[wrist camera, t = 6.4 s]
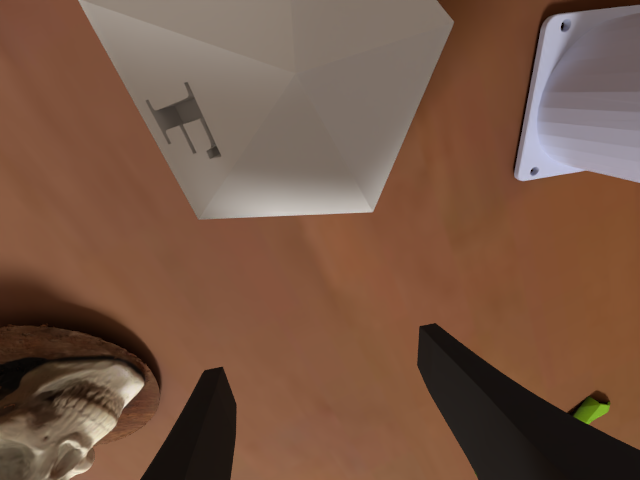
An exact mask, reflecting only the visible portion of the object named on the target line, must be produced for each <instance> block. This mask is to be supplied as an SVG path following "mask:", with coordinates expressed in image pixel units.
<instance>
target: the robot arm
mask: <svg viewBox="0 0 640 480" xmlns="http://www.w3.org/2000/svg"><path fill="white" fill-rule="evenodd" d="M562 22H563V23H564V27H563V30H562V31H561V24H562ZM532 169H533V171H532V172H531V170H532ZM586 170H588V171H592V172H596V173H601V174H605V175H609V176H613V177H618V178H622V179H626V180H630V181H635V182H639V183H640V5H633V6H624V7H615V8H606V9H597V10H588V11H579V12H570V13H562V14H556V15H552V16H550V17H548V18H547V19H546V20H545V21H544V23H543V24H542V27H541V31H540V36H539V41H538V47H537V52H536V58H535V63H534V69H533V74H532V79H531V85H530V90H529V96H528V101H527V107H526V112H525V117H524V123H523V128H522V134H521V139H520V144H519V150H518V155H517V161H516V166H515V172H514V176H515V178H516V179H518V180H521V181H526V180H532V179H538V178H544V177H550V176H556V175H562V174H568V173H574V172H580V171H586ZM530 172H531V173H530ZM417 366H418V368H419V370H420V373H421V375H422V377H423V380H424V382H425V384H426V386H427V388H428V391H429V393H430V394H431V396H432V398H433V400H434V402H435V403H436V405H437V407H438V408H439V410H440V412H441V414H442V415H443V417H444V419H445V421H446V422H447V424H448V426H449V427H450V429H451V431H452V432H453V434H454V436H455V438H456V439H457V441H458V443H459V444H460V446H461V448H462V450H463V451H464V453H465V455H466V456H467V458H468V460H469V462H470V464H471V466H472V468H473V469H474V471H475V473H476V475H477V477H478V480H640V450H638V449H636V448H634V447H632V446H630V445H628V444H626V443H624V442H622V441H620V440H617V439H615V438H613V437H611V436H609V435H607V434H606V433H604V432H602V431H600V430H598V429H596V428H594V427H592V426H590V425H588V424H586V423H584V422H582V421H580V420H579V419H577V418H575V417H573V416H571V415H569V414H568V413H566V412H564V411H562V410H561V409H559V408H557V407H555V406H554V405H552V404H550V403H549V402H547V401H545V400H544V399H542V398H540V397H538V396H537V395H535V394H534V393H532V392H530V391H529V390H527V389H525V388H524V387H522V386H521V385H519V384H518V383H516V382H515V381H513V380H512V379H510V378H509V377H507V376H506V375H504V374H503V373H501V372H500V371H499V370H497V369H496V368H494V367H493V366H491V365H490V364H489V363H487V362H486V361H485V360H483V359H482V358H480V357H479V356H478V355H476V354H475V353H474V352H472V351H471V350H470V349H468V348H467V347H466V346H464V345H463V344H462V343H460V342H459V341H458V340H456V339H455V338H454V337H453V336H451V335H450V334H449V333H447V332H446V331H445V330H443V329H442V328H441V327H440V326H438V325H437V324H436V323H434V324H429V325H424V326H420V328H419V345H418V361H417ZM235 438H236V402H235V399H234V396H233V394H232V391H231V388H230V385H229V383H228V380H227V377H226V374H225V372H224V369H223V367H219V368H214V369H209V370H205V371H204V372H203V373H202V375H201V377H200V379H199V381H198V383H197V385H196V387H195V389H194V391H193V392H192V394H191V396H190V398H189V400H188V402H187V403H186V405H185V407H184V409H183V411H182V413H181V414H180V416H179V418H178V419H177V421H176V423H175V425H174V426H173V428H172V430H171V432H170V433H169V435H168V437H167V438H166V440H165V442H164V443H163V445H162V447H161V448H160V450H159V451H158V453H157V454H156V456H155V458H154V459H153V461H152V462H151V464H150V465H149V467H148V469H147V470H146V472H145V473H144V475H143V476H142V478H141V479H140V480H230V478H231V470H232V463H233V455H234V447H235Z"/></svg>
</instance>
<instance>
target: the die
mask: <svg viewBox="0 0 640 480" xmlns="http://www.w3.org/2000/svg"><path fill="white" fill-rule="evenodd" d="M78 1H79V3H80V5H81V6H82V8H83V10H84V12H85V14H86V16H87V17H88V19H89V21H90V23H91V25H92V26H93V28H94V30H95V32H96V34H97V36H98V37H99V39H100V41H101V43H102V45H103V47H104V48H105V50H106V52H107V54H108V56H109V57H110V59H111V61H112V63H113V65H114V67H115V68H116V70H117V72H118V74H119V76H120V77H121V79H122V81H123V83H124V85H125V87H126V88H127V90H128V92H129V94H130V96H131V98H132V99H133V101H134V103H135V105H136V107H137V108H138V110H139V112H140V114H141V116H142V118H143V119H144V121H145V123H146V125H147V127H148V129H149V130H150V132H151V134H152V136H153V138H154V139H155V141H156V143H157V145H158V147H159V149H160V150H161V152H162V154H163V156H164V158H165V159H166V161H167V163H168V165H169V167H170V169H171V170H172V172H173V174H174V176H175V178H176V180H177V181H178V183H179V185H180V187H181V189H182V190H183V192H184V194H185V196H186V198H187V200H188V201H189V203H190V205H191V207H192V209H193V210H194V212H195V214H196V216H197V218H198V219H219V218H243V217H267V216H291V215H315V214H338V213H362V212H373V211H374V208H375V206H376V204H377V201H378V199H379V197H380V194H381V192H382V190H383V187H384V185H385V183H386V180H387V178H388V176H389V173H390V171H391V169H392V166H393V164H394V162H395V159H396V157H397V155H398V152H399V150H400V148H401V145H402V143H403V141H404V138H405V136H406V134H407V131H408V129H409V127H410V124H411V122H412V120H413V117H414V115H415V113H416V110H417V108H418V106H419V103H420V101H421V99H422V96H423V94H424V92H425V89H426V87H427V85H428V82H429V80H430V78H431V75H432V73H433V71H434V68H435V66H436V64H437V61H438V59H439V57H440V54H441V52H442V50H443V47H444V45H445V43H446V40H447V38H448V36H449V33H450V31H451V29H452V26H453V24H454V21H453V20H452V19H451V17H450V16H449V15H448V14H447V13H446V11H445V10H444V9H443V8H442V6H441V5H440V4H439V3H438V1H437V0H78Z"/></svg>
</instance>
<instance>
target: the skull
mask: <svg viewBox="0 0 640 480" xmlns="http://www.w3.org/2000/svg"><path fill="white" fill-rule="evenodd" d="M46 325H48V324H46ZM46 325H40V326H39V327H35V326H27V325H26V324H24V326H14V327H13V326H12V325H11V324H9V325H8V326H11V327H8V326H7V327H4V326H3V328H1V327H0V480H69V479H70V478H71V477H73V476H74V475H77V474H81V473H83V472H85V471H87V470H88V469H89V468H90V467H91V466H92V464H93V462H94V460H95V452H94V449H93V448H92V447H93V446H96V445H99V444H107V443H110V442H112V441H116V440H119V439H122V438H124V437H126V436H128V435H130V434H132V433H134V432H135V431H137V430H138V429H140V428H141V427H143V426H144V425H145V424H146V423H147V422H148V421H149V420H150V419H151V418H152V417H153V415H154V414H155V412H156V410H157V408H158V405H159V400H160V392H159V386H158V384H157V381H156V379H155V377H154V375H153V374H152V372H151V370H150V369H149V368H148V366H147V365H146V363H145V364H144V363H143V362H142V360H141V359H139V358H138V357H137V356H136V355H134V354H133V353H129V351H127V350H125V349H123V348H120V347H119V346H117V345H116V344H113V343H109V342H106V341H104V340H101V339H102V338H98V337H93V336H89V335H90V334H89V335H88V334H86V333H85V334H83V333H82V334H81V333H80V332H79V331H73V332H72V331H70V330H64V329H59V328H55V327H54V326H53V327H52V328H51V327H47V326H46ZM68 329H69V328H68ZM40 340H41V341H40ZM91 340H92V341H91ZM57 358H58V359H57Z"/></svg>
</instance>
